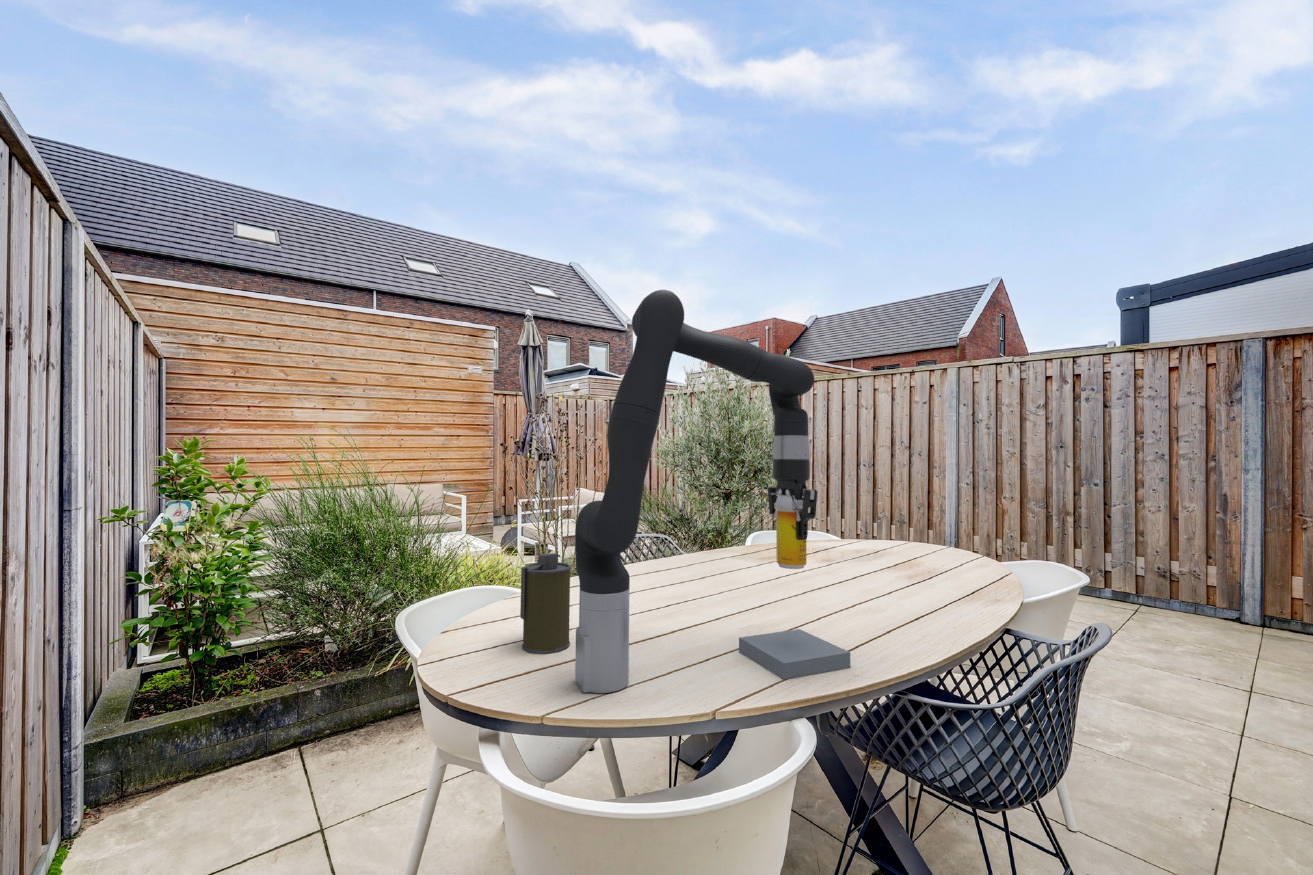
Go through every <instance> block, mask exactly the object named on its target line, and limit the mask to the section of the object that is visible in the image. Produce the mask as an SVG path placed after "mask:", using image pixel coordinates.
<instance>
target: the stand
mask: <svg viewBox="0 0 1313 875" xmlns="http://www.w3.org/2000/svg"><path fill="white" fill-rule="evenodd" d="M738 652H739V654H742V655H743V656H745V657H747V658H748V659H750V660H752V661H753V662H755V663H757V664H758V665H760V666H761V667H763V668H765V669H766V670H768V671H769V672H771V673H772V674H774V675H776V676H777V677H779V678H781V679H782V680H784V681H785V680H789V679H794V678H796V679H797V678H799V677H806V676H811V675H817V674H818V675H819V674H823V673H827V672H833V671H839V670H844V669H845V670H846V669H850V668H851V651H848V650H846V649H845V648H841V647H840V646H838V645H836V644H833V643H831V642H829V641H826V640H824V639H822V638H820V637H818V636H815V635H814V634H811V633H808V632H807V631H805V630H803V629H800V628H798V629H789V630H783V631H777V632H769V633H761V634H753V635H748V636H740V637H738Z"/></svg>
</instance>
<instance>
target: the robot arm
mask: <svg viewBox="0 0 1313 875" xmlns="http://www.w3.org/2000/svg"><path fill="white" fill-rule="evenodd" d="M684 321H685V309H684V306H683V303H682V300H681V299H680V297H678V295H677V294H675V293H674V292H673V291H671V290H668V289H657V290H654V291H653V292H651V293H649V294H648V295H646V296H645V297H644V298H642V301H641V303H640V304H639V305H638V306H637V308H636V310H635V311H634V314H633V315H632V319H631V327H632V331H633V333H634V335H635V336H636V339H635V340H636V341H635V346H634V349H633V353H632V355H631V356H632V357H631V358H630V361H629V364H628V365H627V368H626V370H625V373H624V374H623V377H622V380H621V382H620V385H619V386H618V390H617V392H616V395H615V398H614V402H613V403H612V408H611V413H610V417H609V420H608V425H607V432H606V433H607V434H606V436H607V438H606V439H607V440H606V441H607V448H608V460H609V462H608V463H609V471H608V477H607V478H608V479H607V482H606V486H605V490H604V494H603V497H602V500H593V501H590V502H589V503H587V504H585V505H584V506H583V507H582V509H580V511H579V512H578V516H577V518H576V522H575V529H574V530H575V533H574V534H575V535H574V539H575V541H574V542H575V567H576V569H575V570H576V573H577V576H578V580H579V602H578V603H579V606H578V608H579V610H578V611H579V612H578V618H579V619H578V620H579V621H578V627H577V628H575V660H574V661H575V662H574V663H575V664H574V666H575V670H574V671H575V672H574V674H575V675H574V680H575V682H576V684H577V686H579V688H580V690H581V692H582V693H596V694H607V693H614V692H617V691H620V690H622V689H623V690H624V689H625V688H626V687H627V686H628V685H629V681H630V680H629V679H630V678H629V677H630V676H629V675H630V674H629V673H630V667H629V664H630V585H631V584H630V574H629V571H628V570H627V568H626V567H625V565H624V564H623V562H622V559H621V558H622V557H621V553H624V552H625V551H627V549H629V547H630V546H631V545H632V544H633V543H634V541H635V538H636V536H637V532H638V529H639V523H640V522H639V521H640V516H641V515H640V514H641V508H642V499H643V493H644V492H643V491H644V485H645V480H646V474H647V471H648V467H649V463H650V459H651V453H652V449H653V444H654V440H655V436H656V433H657V429H658V425H659V420H660V417H661V411H662V405H663V403H664V402H663V401H664V397H665V396H664V395H665V392H666V385H667V379H668V375H669V374H668V372H669V367H670V362H671V360H672V355H673V353H678V354H682V355H685V356H687V357H691V358H694V359H697V360H700V361H703V362H706V363H708V364H711V365H714V366H716V367H718V368H721V369H723V370H725V371H728V372H729V373H733V374H734V375H737V376H739V377H740V378H741V377H742V378H743V379H744V380H745V379H746V380H748V381H750V382H753V383H767V384H768V394H769V395H768V396H769V400H770V403H771V409H772V412H773V416H774V423H773V427H774V428H773V435H774V439H773V447H772V478H773V480H774V481H776V482H777V483H776V486H768V487H767V497H768V498H767V499H768V508H769V509H768V510H769V514H770V515H773V516H774V518H775V519H776V508H775V507H776V500H777V498H778V495H789V496H790V497H791V499H792V509H793V511H795V516H796V520H797V521H796V539H797V540H806V541H807V538H808V534H809V530H808V529H809V528H808V527H809V526H808V525H809V524H808V522H809V521H810V520H814V519H815V518H816V516H817V515H816V514H817V511H816V510H817V503H818V502H817V501H818V490H817V489H809V488H807V484H806V482H807V481H809V480H810V477H811V476H810V475H811V474H810V471H811V468H810V466H811V465H810V464H811V463H810V462H811V460H810V459H811V458H810V454H811V453H810V441H809V415H808V413H807V410H805V409H804V408H801V405H800V400H799V397H800V396H802V395H805V394H807V393H809V392H810V391H811V389H812V388H813V386H814V384H815V375H814V372H813V371H812V368H810V367H809V365H807V364H806V363H804V362H803V361H801V360H799V359H796V358H792V357H790V356H785V355H782V354H778V353H773V352H770V351H767V350H765V349H764V348H762V347H758V346H757V345H756V344H753V343H750V342H748V341H746V340H744V339H741V338H739V337H734V336H731V335H726V334H719V333H714V332H709V331H705V330H702V329H699V328H695V327H693V326H690V324H689V325H688V324H687V323H685V322H684ZM793 496H794V497H793ZM794 498H795V499H796V500H803V506H797V505H796V503H795V501H794ZM800 510H802V515H801V514H800Z"/></svg>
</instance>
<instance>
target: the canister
mask: <svg viewBox="0 0 1313 875" xmlns="http://www.w3.org/2000/svg"><path fill="white" fill-rule="evenodd" d="M558 558H561V555H560V554H558V553H556V552H552V553H539V555H538V559H537V561H536V562H535V563H530V564H526V565H525V566H521V568H520V571H521V572H520V573H521V574H520V576H521V577H520V609H519V610H520V616H519V617H520V619H522V620H523V624H522V626H523V627H522V629H523V632H522V636H523V637H522V644H521V648H522V650H523V651H525V652H527V653H531V654H538V655H546V654H553V653H559V652H562V651H564V650H566V649H568V648H569V647H570V645H571V642H570V608H571V605H570V600H571V598H570V597H571V595H570V594H571V569H572V565H571V564H569V563H564V562H559V561H558Z"/></svg>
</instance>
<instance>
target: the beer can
mask: <svg viewBox="0 0 1313 875" xmlns="http://www.w3.org/2000/svg"><path fill="white" fill-rule="evenodd" d="M793 497H794V496H793ZM794 501H795V503H796V505H797V506H803V500H796V499H795V498H794ZM775 504H776V506H775V509H776V518H775V519H776V520H775V523H776V525H775V526H776V527H775V528H776V536H775V537H776V544H775V545H776V559H775V560H776V563H777V565H778V566H779V567H780V568H782V569H786V570H787V569H789V570H801V569H802V570H803V569H804V568H805V566H806V565H807V539H806V540H797V539H796V521H797V520H796V516H795V511H793V509H792V499H791V497H790V496H789V495H778V498H777V500H776V503H775ZM800 514H801V515H802V510H800Z"/></svg>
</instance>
